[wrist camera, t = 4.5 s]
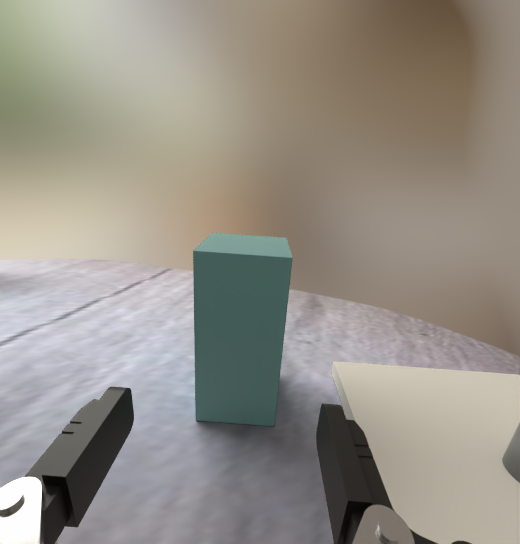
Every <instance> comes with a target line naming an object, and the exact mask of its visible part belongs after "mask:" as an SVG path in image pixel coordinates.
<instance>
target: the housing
mask: <svg viewBox="0 0 520 544" xmlns="http://www.w3.org/2000/svg"><path fill="white" fill-rule="evenodd" d="M193 258H194V259H193V261H194V263H193V264H194V334H195V404H196V421H209V422H222V423H236V424H249V425H263V426H274V424H275V415H276V406H277V397H278V387H279V378H280V369H281V360H282V350H283V341H284V332H285V323H286V314H287V304H288V295H289V285H290V276H291V267H292V255H291V252H290V248H289V245H288V242H287V239H286V238H281V237H266V236H252V235H237V234H223V233H212V234H211V235H210V236H209V237H207V239H205V240H204V241H203V242H202V243H201V244H200V245H199V246H198V247H197V248H196V249H195V250H194V251H193Z"/></svg>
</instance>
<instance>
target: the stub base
mask: <svg viewBox="0 0 520 544" xmlns="http://www.w3.org/2000/svg"><path fill="white" fill-rule="evenodd" d="M331 373H332V376H333V379H334V382H335V385H336V388H337V391H338V394H339V397H340V400H341V403H342V406H343V409H344V412H345V415H346V418H347V420H355V422H356V423H357V424H358V425H359V427H360V428H361V429H362V430H363V431H364V434H365V436H366V439H367V441H368V444H369V448H370V449H371V452H372V455H373V459H374V460H375V463H376V465H377V468H378V471H379V473H380V476H381V479H382V481H383V484H384V486H385V489H386V492H387V494H388V497H389V500H390V502H391V505H392V507H393V509H394V511H395V512H396V513H397V514H398V515H399V516H400V517H401V518H402V519H403V520H404V521H405V522H406V524H407V525H408V527H409V528H410V529H411V530H412V531H414V532H415V533H417V534H418V535H420V536H422V537H424V538H427V539H429V540H431V541H433V542H436V543H438V544H452V543H453V542H455V541H466V542H469V543H472V544H520V375H515V374H501V373H487V372H474V371H460V370H446V369H432V368H419V367H405V366H391V365H377V364H364V363H350V362H336V361H333V367H332V372H331Z"/></svg>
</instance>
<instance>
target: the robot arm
mask: <svg viewBox="0 0 520 544" xmlns="http://www.w3.org/2000/svg"><path fill="white" fill-rule="evenodd" d="M133 421H134V412H133V403H132V394H131V389H130V388H122V387H110V388H108V389H107V391H106V392H105V393H104V394H103V396H102V397H101V398H100V400H96V399H94V400H92V401H91V402H89V403H88V404H87V405H85V406H84V407H83V408H81V409H80V410H79V411H78V413H77V414H76V415H75V416H74V417H73V419H72V420H71V421H70V424H68V425H67V426H66V427H65V428H64V430H63V431H62V433H61V434H59V436H58V437H57V438H56V439H55V440H54V442H53V443H52V444H51V445H50V447H49V448H48V449H47V450H46V451H45V453H44V454H43V455H42V456H41V457H40V459H39V460H38V461H37V462H36V464H35V465H34V466H33V467H32V468H31V470H30V471H29V472H28V473H27V474H26V475H25V477H24V478H20V479H17V480H15V481H12V482H10V483H8V484H7V485H5V486H3V487H2V488H1V489H0V544H58V543H57V539H58V537H59V535H60V534H61V532H62V530H63V529H64V527H65V526H67V527H78V526H79V524H80V522H81V520H82V518H83V517H84V515H85V513H86V511H87V509H88V507H89V506H90V504H91V502H92V500H93V498H94V497H95V495H96V493H97V491H98V489H99V488H100V486H101V484H102V482H103V480H104V478H105V477H106V475H107V473H108V471H109V469H110V468H111V466H112V464H113V462H114V460H115V459H116V457H117V455H118V453H119V451H120V449H121V448H122V446H123V444H124V442H125V440H126V439H127V437H128V435H129V433H130V431H131V428H132V425H133ZM316 441H317V450H318V456H319V461H320V467H321V472H322V478H323V483H324V489H325V494H326V500H327V506H328V511H329V517H330V522H331V528H332V533H333V539H334V544H438V543H436V542H433V541H431V540H429V539H427V538H424V537H422V536H420V535H418V534H417V533H415V532H414V531H412V530H411V529H410V528H409V527H408V525H407V524H406V522H405V521H404V520H403V519H402V518H401V517H400V516H399V515H398V514H397V513H396V512H395V511H394V509H393V507H392V505H391V502H390V500H389V497H388V494H387V492H386V489H385V486H384V484H383V481H382V479H381V476H380V473H379V471H378V468H377V465H376V463H375V460H374V459H373V455H372V452H371V449H370V448H369V444H368V441H367V439H366V436H365V434H364V431H363V430H362V429H361V428H360V427H359V425H358V424H357V423H356V422H355V420H346V418H345V415H344V412H343V409H342V407H341V405H334V404H322V405H321V410H320V415H319V421H318V427H317V434H316ZM452 544H472V543H469V542H466V541H455V542H453V543H452Z"/></svg>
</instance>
